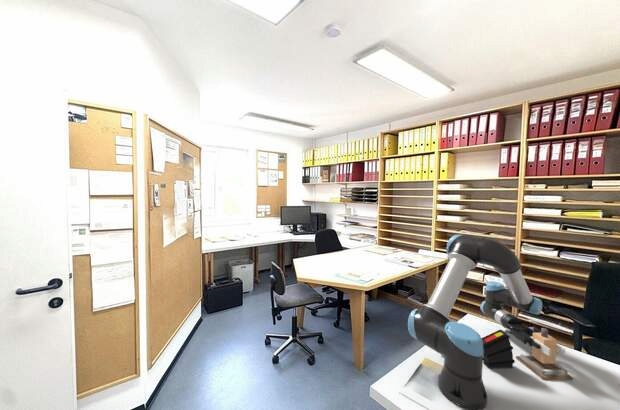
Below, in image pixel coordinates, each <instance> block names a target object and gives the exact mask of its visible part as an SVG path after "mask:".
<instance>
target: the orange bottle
mask: <svg viewBox="0 0 620 410" xmlns="http://www.w3.org/2000/svg"><path fill="white" fill-rule="evenodd" d="M540 331H541V333H533V337H531V338H532V339H533V341H534V339H536V340H537V341H539V342H540V343H542V344H543V345H545V346H546V347H548V348H550V349H551V356H548V355H547V354H545V353H544V352H542V351H541V350H539V349H538V348H536V347H534V346H532V347H531V355H532V356H533V357H535V358H536V359H537V360H539V361H540V362H542V363H543V364H555V363H556V356H557V352H556V344H557V339H556V338H554V337H553V336H551V335H549V329H547V328H545V327H541V329H540Z"/></svg>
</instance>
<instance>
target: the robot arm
mask: <svg viewBox="0 0 620 410" xmlns="http://www.w3.org/2000/svg"><path fill="white" fill-rule="evenodd" d="M445 249H446V254H447V258H448V262H447V264H446V266H445V268H444V270H443V272H442V274H441V276H440V278H439V280H438V282H437V284H436V286H435V287H434V290H433V292H432V293H431V296H430V298H429V300H428V302H427V303H424V304H422V305H421V307H420V309H419V308H414V309H413V310H412V311H411V312H410V314H409V316H408V320H407V329H408V333H409V335H410V336H411V337H412V338H413V339H415V340H416V341H417V342H419V343H421V344H423V345H425V346H426V347H428V348H429V349H431V350H432V351H435V352H436V353H438V354H439V355H443V356H444V358H443V359H444V362H443V363H444V364H443V366H442V368H441V370H440V373H439V374H438V378H437V380H438V381H437V386H438V389H439V390H440V392H441V394H443V396H444V395H445V396H446V397H445V396H444V397H445V398H446V399H447V400H449V401H450V400H451V401H450V402H452V401H453V402H455V403H457V404H459V405H460V406H459V405H458V406H459V407H461V408H464V409H466V410H483V409H485V408H487V405H488V394H487V390H486V387H485V384H484V381H483V365H484V364H483V353H484V349H483V340H482V338H483V337H481V335H480V334H479V332H478V331H476V330H475V329H474V328H473V327H471V326H470V325H468V324H465V323H462V322H460V323H459V322H458V321H451V319H450V317H449V315H450V313H451V311H452V309H453V307H454V304H455V302H456V300H457V299H458V298H457V297H458V296H459V294H460V292H461V290H462V288H463V286H464V283H465V281H466V279H467V277H468V275H469V272H470V271H471V270H474V269H476V267H477V265H478V264H481V265H484V266H489V267H492V268H493V269H494V270H495V271H496V272H497V273H498V274H499V275H500V277H501V278H502V280H503V282H504V284H505V286H506V288H507V289H506V288H505V286H504V284H503V283H501V282H497V281H493V280H492V281H491V280H490V281H488V282H487V281H486V284H485V300H483V301H482V302H481V303H480V305H479V307H480V311H481V312H482V313H483V314H485V316H486V317H488V318H490V319H492V320H493V321H495V322H496V323H497V324H499V325H500V326H502V327H503V328H504V329H505V333H508V334H510V335H512V336H513V337H515V338H516V339H517V340H518V341H520V342H521V343H523V344H525V345H527V344H528V346H529V347H530V348H532V346H534V347H536V348H538V349H539V350H541V351H542V352H544V353H545V354H547V355H548V356H551V349H550V348H548V347H546V346H545V345H543V344H542V343H540V342H539V341H537V340H536V339H534V341H533V339H532V338H533V333H541V329H540V330H539V329H538V328H537V327H536V326H534V325H532V326H531V327H529V326H528V325H526V324H524V323H523V322H522V320H521V319H520V318H518V317H517V316H515V315H514V314H512V313H510V312H508V311H507V310H505V309H504V305H505V306H509V307H512V308H514V309H517V310H520V311H523V312H527V313H530V314H533V315H540V314H541V312H542V310H543V300H542V299H540V298H537V297H536V296H533V295H532V293H531V291H530V289H529V286H528V284H527V282H526V280H525V277H524V275H523V273H522V270H521V268H522V264H521V261H520V260H519V257H518V256H517V254H516V253H514V251H513V250H511V248H510V247H509V246H507V245H506V244H504V243H503V242H501V241H499V240H496V239H492V238H490V237H481V236H472V235H468V234H454V235H452V236H451V237H449V240H448V241H447V243H446V247H445ZM557 353H558V354H559V355H561V356H562V357H566V349H565V348H563V347H562V346H560V345H559V344H557V343H556V354H557ZM453 402H452V403H453ZM455 403H454V404H455ZM457 404H456V405H457Z"/></svg>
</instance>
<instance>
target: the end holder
mask: <svg viewBox="0 0 620 410" xmlns="http://www.w3.org/2000/svg"><path fill="white" fill-rule="evenodd" d="M515 359H516V360H518V361H519V362H520V364H522V365H524V366H525V367H526V368H527V369H529V370H530V371H531V372H532V373H534V375H536V376H537V377H539V378H540V379H541V380H562V381H563V380H565V381H568V380H569V381H573V379H574V378H573V376H571V375H570V374H569V373H568V371H567V370H566V369H564V368H563V367H562V366H560V365H559V364H557V363H556V362H555V364H543V363H542V362H540V361H539V360H537V359H536V358H535V357H533V356H532V354H520V355H517V356H515Z"/></svg>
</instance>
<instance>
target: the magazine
mask: <svg viewBox="0 0 620 410" xmlns="http://www.w3.org/2000/svg"><path fill="white" fill-rule="evenodd" d="M481 338H482V340H483V349H484V353H483V365H484V366H486V368H487V369H513V368H514V366H513V364H515V362H516V361H515V359H514V357H513V356H514V355H513V350H514V346H512V345H511V341H510V338H511V337H510V335H508V334H507V332H506V331H504V330H502V329H501V328H500V329H498V330H496V331H494V332H492V333H490V334H487V335H486V336H483V337H481Z"/></svg>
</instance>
